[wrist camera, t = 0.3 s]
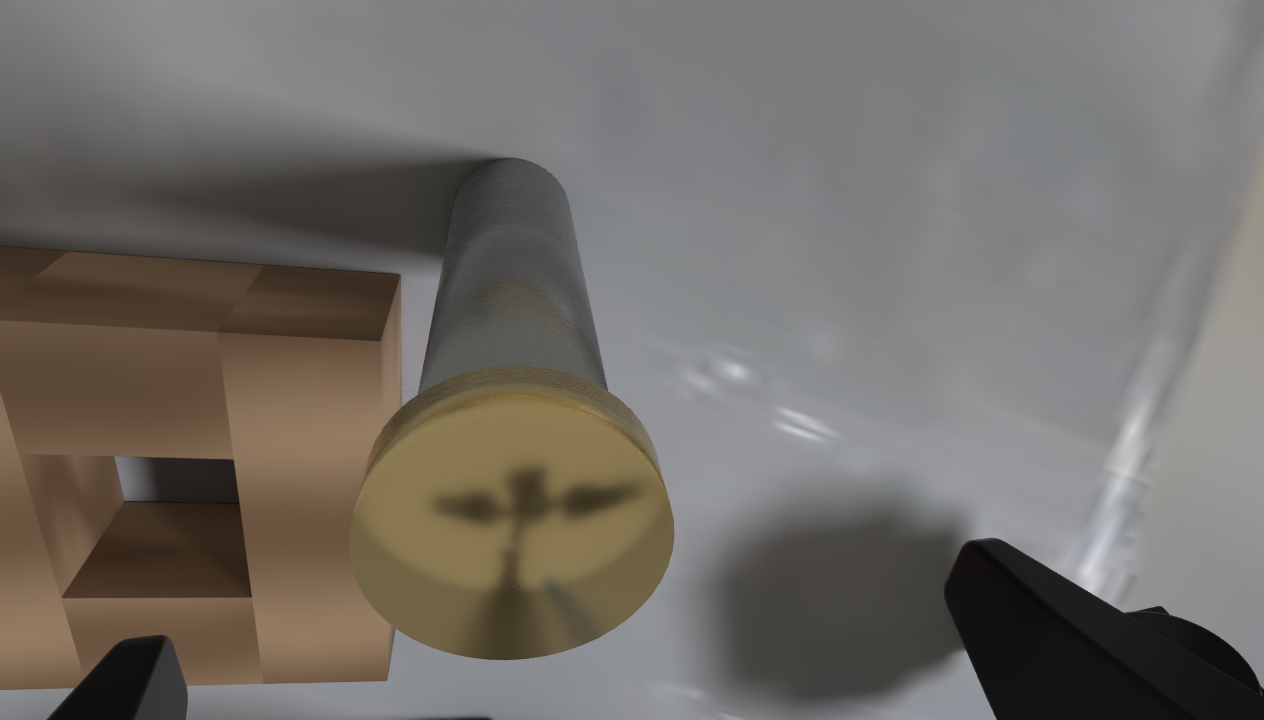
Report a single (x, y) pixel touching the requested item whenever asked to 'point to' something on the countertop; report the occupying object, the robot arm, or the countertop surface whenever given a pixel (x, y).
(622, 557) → the steel pin
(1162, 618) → the pneumatic valve
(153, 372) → the socket block
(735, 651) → the countertop surface
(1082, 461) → the countertop surface
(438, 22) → the countertop surface
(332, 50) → the countertop surface
